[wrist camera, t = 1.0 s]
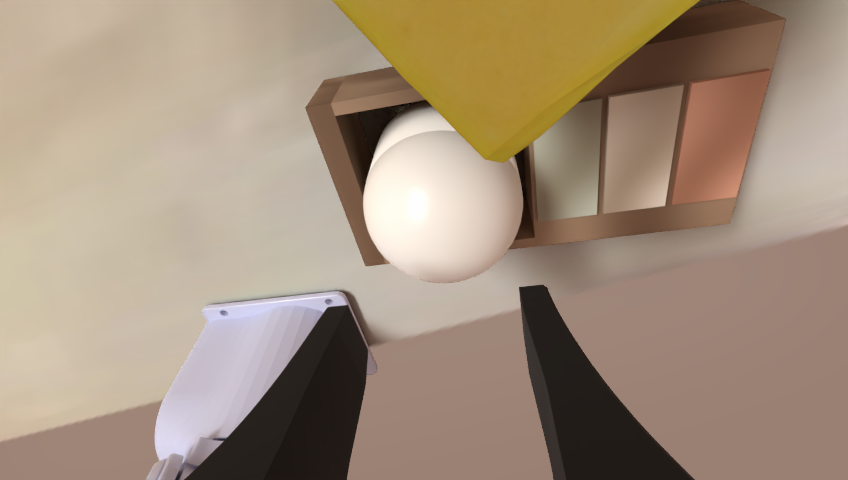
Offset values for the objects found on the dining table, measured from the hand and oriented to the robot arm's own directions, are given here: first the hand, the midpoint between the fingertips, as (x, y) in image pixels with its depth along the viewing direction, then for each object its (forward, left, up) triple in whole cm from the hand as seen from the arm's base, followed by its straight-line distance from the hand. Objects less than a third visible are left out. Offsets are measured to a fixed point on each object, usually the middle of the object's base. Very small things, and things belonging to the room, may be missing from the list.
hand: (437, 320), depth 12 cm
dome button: (0, 0, -9) cm, 9 cm away
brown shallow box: (+3, 0, -10) cm, 11 cm away
